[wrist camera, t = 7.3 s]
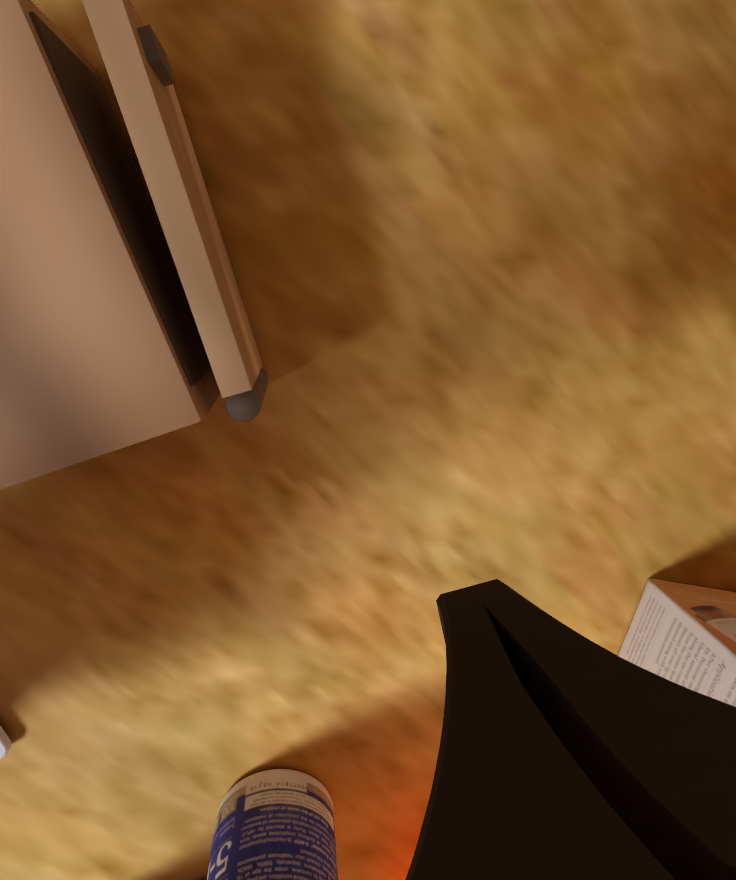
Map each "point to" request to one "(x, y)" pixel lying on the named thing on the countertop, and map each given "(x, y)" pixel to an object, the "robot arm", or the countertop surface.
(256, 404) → the door
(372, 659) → the countertop surface
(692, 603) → the small box
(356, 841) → the countertop surface
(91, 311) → the cabinet
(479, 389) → the countertop surface
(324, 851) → the pill bottle
